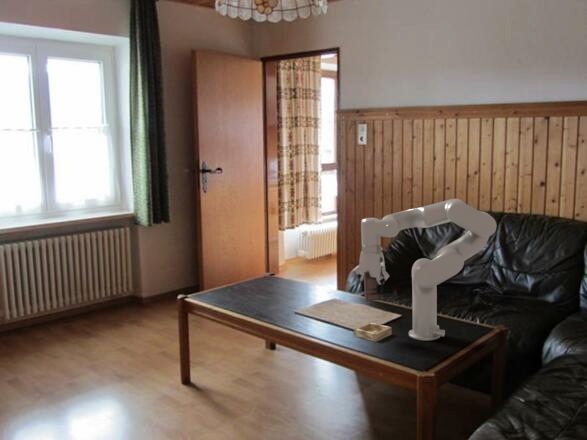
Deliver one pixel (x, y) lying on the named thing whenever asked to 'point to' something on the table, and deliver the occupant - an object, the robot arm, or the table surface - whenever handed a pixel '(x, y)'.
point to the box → (370, 287)
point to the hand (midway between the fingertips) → (372, 291)
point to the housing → (372, 331)
